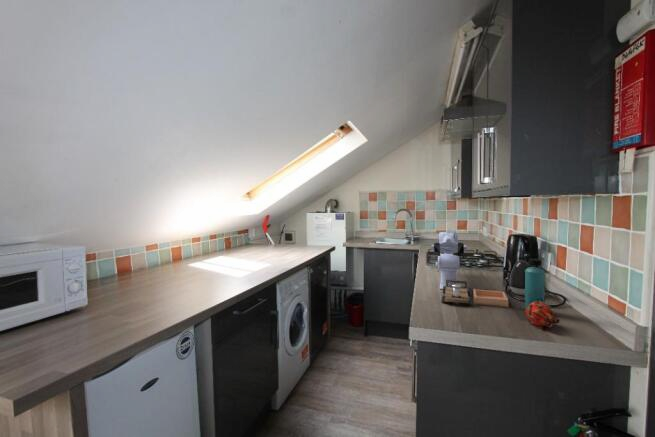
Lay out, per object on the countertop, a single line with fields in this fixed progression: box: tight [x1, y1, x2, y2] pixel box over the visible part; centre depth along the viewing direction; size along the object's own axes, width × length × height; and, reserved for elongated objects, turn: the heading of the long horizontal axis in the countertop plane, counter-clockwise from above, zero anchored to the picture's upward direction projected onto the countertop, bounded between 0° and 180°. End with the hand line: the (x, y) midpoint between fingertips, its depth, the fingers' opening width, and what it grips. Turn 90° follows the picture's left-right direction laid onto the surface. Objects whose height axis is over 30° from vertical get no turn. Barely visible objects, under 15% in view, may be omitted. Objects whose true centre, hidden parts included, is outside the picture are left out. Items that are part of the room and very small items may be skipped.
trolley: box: [441, 279, 473, 306], centre depth 136 cm, size 20×11×6 cm, turn 158°
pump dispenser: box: [508, 259, 535, 297], centre depth 140 cm, size 10×10×15 cm
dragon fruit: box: [524, 301, 561, 329], centre depth 106 cm, size 8×8×12 cm
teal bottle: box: [524, 258, 546, 308], centre depth 119 cm, size 6×7×20 cm
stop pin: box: [452, 283, 462, 305], centre depth 130 cm, size 3×3×8 cm
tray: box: [472, 288, 509, 309], centre depth 131 cm, size 12×12×3 cm
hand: (448, 253), depth 132 cm, fingers open, 7 cm apart
